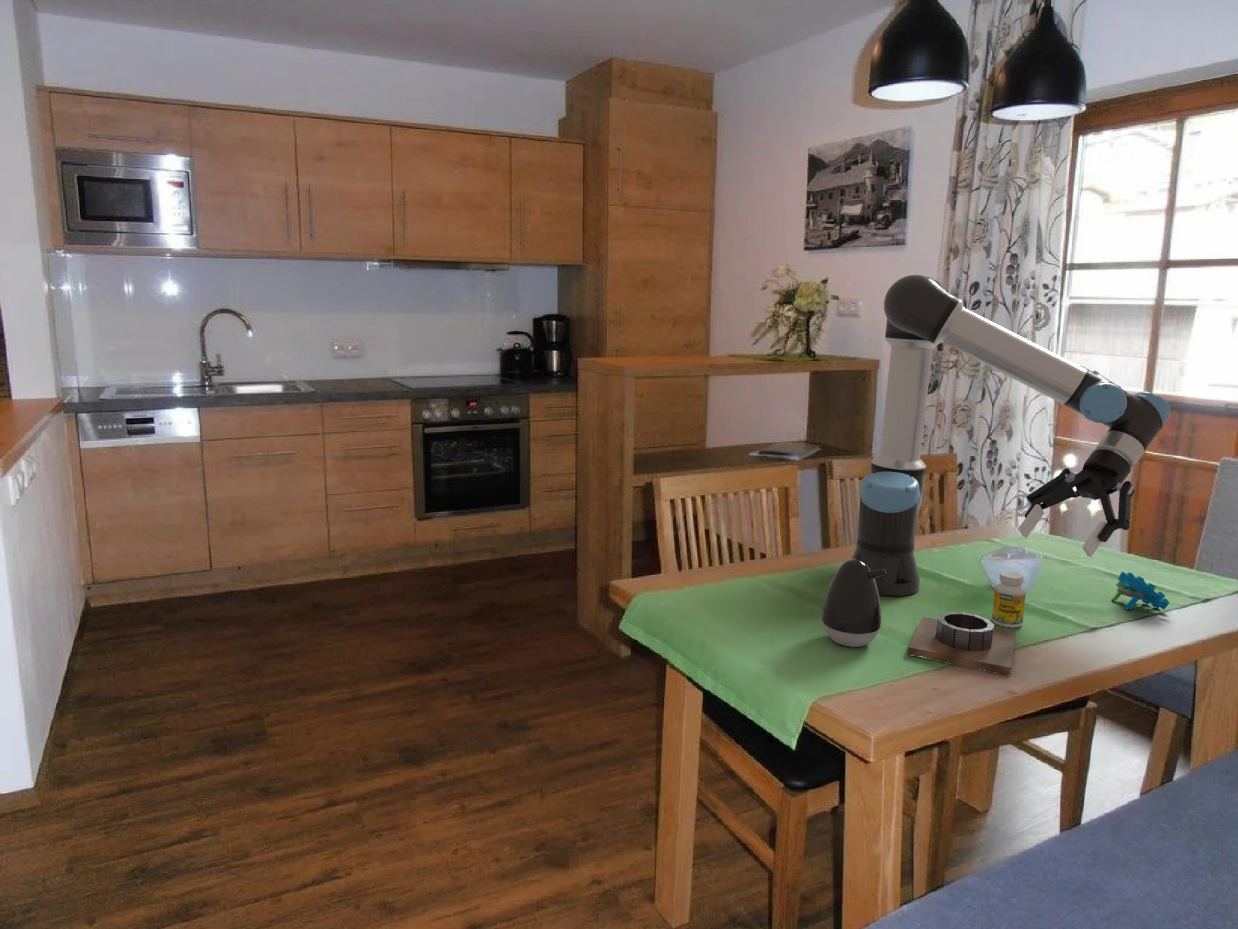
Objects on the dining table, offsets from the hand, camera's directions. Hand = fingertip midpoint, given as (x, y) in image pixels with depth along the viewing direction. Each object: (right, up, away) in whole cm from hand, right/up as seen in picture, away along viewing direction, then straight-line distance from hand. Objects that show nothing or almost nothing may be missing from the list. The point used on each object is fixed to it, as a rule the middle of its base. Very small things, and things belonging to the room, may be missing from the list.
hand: (1053, 542), depth 161 cm
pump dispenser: (-42, -17, -12) cm, 47 cm away
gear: (+21, -14, +8) cm, 26 cm away
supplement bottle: (-10, -15, -2) cm, 18 cm away
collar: (-23, -16, -14) cm, 31 cm away
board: (-23, -17, -14) cm, 32 cm away
